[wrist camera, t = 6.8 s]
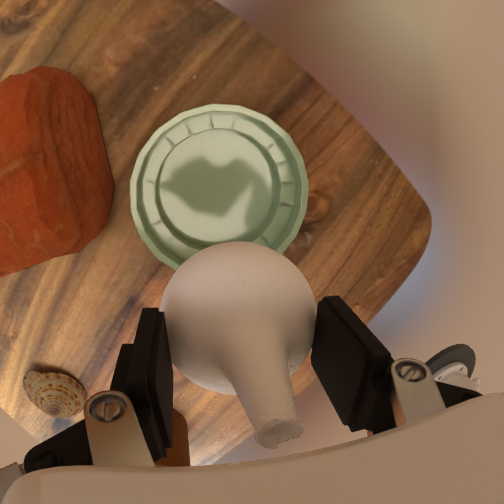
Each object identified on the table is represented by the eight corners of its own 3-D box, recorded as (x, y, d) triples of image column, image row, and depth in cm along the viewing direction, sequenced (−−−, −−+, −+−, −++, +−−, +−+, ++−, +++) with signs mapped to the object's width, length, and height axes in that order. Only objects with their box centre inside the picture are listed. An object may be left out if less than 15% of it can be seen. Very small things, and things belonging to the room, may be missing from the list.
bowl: (273, 93, 26) (285, 86, 22) (307, 238, 31) (322, 251, 27) (117, 138, 24) (106, 138, 21) (167, 282, 30) (165, 300, 26)
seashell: (13, 364, 27) (60, 402, 26) (42, 345, 32) (88, 377, 32) (21, 407, 29) (65, 442, 28) (45, 388, 35) (88, 418, 34)
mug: (168, 457, 39) (170, 508, 30) (120, 445, 36) (114, 497, 28) (195, 412, 36) (201, 472, 27) (137, 396, 34) (131, 457, 25)
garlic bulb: (177, 365, 15) (180, 511, 7) (148, 245, 12) (100, 377, 5) (302, 344, 15) (370, 471, 8) (299, 223, 13) (414, 319, 6)
